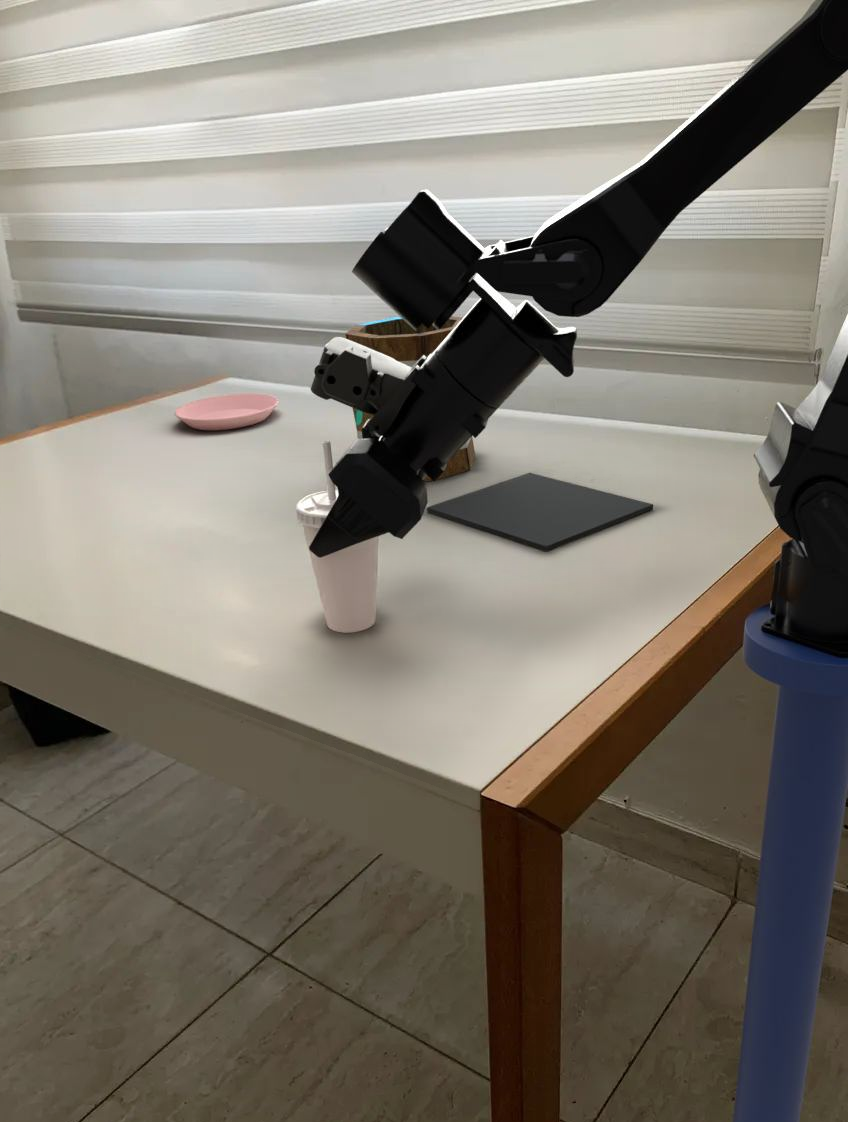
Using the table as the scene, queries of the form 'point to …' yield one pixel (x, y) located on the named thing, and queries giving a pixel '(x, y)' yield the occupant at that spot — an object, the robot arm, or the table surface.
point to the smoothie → (341, 565)
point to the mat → (539, 510)
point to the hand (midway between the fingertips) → (324, 536)
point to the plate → (227, 411)
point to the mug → (408, 349)
